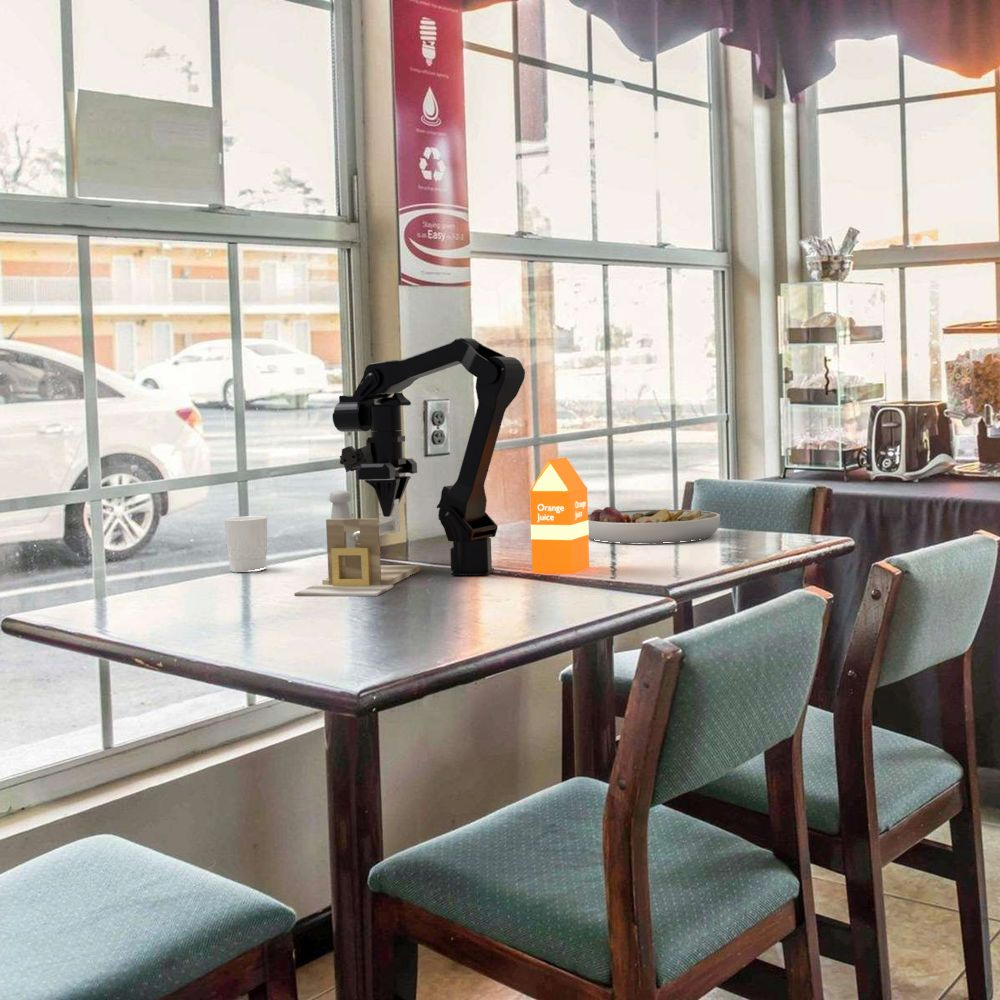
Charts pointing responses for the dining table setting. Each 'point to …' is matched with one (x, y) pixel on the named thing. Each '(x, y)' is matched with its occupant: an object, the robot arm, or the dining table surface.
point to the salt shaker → (341, 509)
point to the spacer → (365, 566)
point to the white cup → (246, 542)
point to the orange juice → (559, 520)
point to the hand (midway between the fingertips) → (389, 515)
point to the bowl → (651, 525)
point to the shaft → (384, 523)
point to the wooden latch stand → (358, 561)
